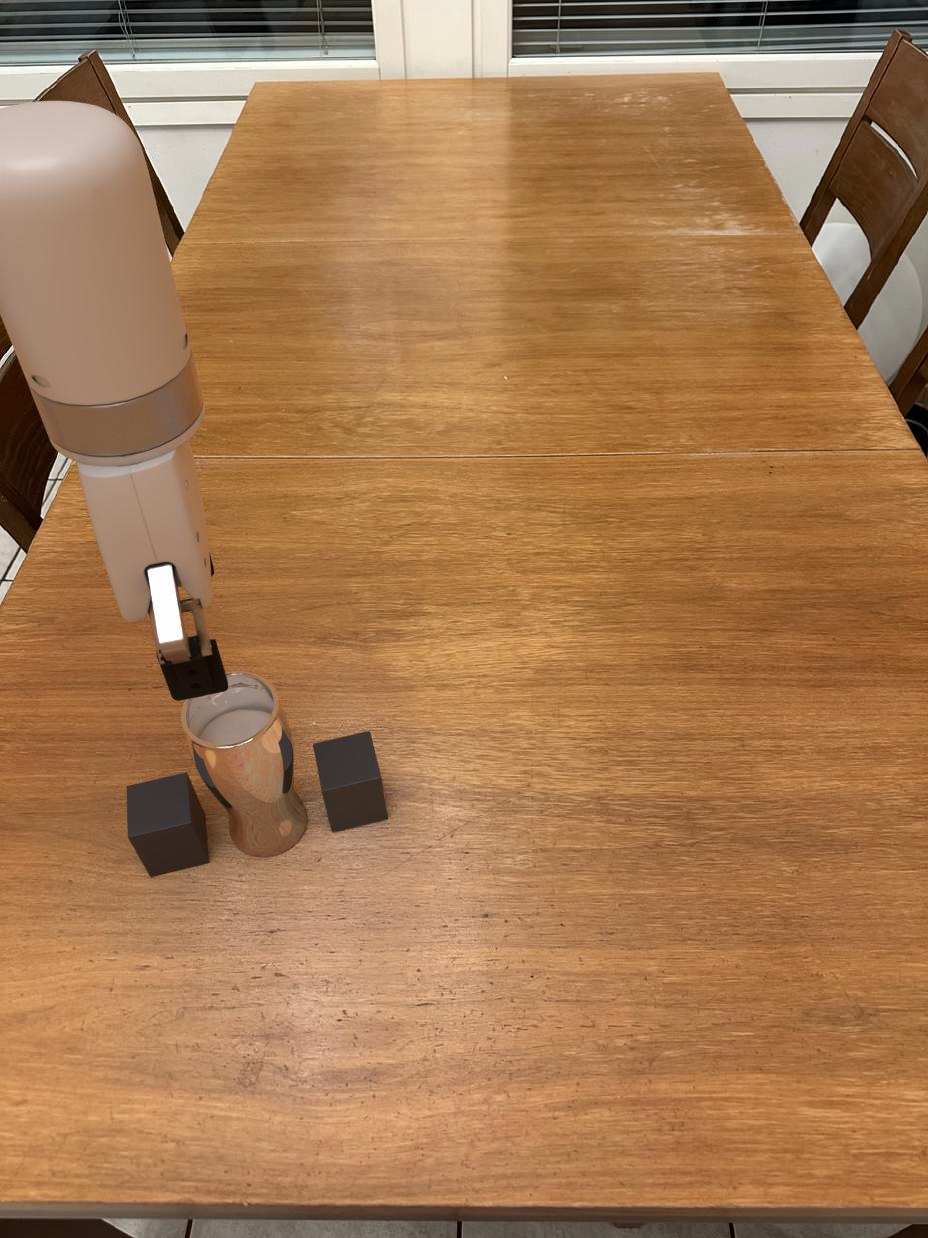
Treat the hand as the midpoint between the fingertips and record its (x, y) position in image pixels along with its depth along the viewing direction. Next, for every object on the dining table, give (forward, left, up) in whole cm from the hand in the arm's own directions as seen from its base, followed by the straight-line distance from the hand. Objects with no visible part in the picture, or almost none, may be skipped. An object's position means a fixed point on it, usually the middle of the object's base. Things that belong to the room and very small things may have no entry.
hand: (195, 632), depth 58 cm
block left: (-7, 0, -23) cm, 24 cm away
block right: (+7, 0, -23) cm, 24 cm away
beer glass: (+1, 0, -23) cm, 23 cm away
